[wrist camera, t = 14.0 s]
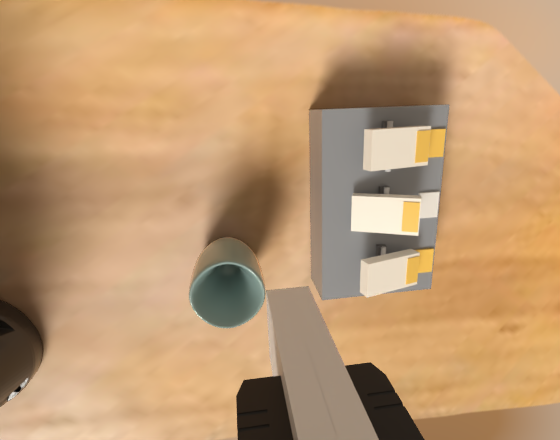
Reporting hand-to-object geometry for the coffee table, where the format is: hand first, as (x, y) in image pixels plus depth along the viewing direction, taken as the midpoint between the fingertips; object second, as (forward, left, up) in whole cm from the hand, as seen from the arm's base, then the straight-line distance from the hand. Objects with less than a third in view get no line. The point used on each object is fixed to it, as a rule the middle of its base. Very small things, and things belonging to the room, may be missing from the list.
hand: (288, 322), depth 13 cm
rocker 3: (+15, -11, -25) cm, 31 cm away
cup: (-3, -11, -33) cm, 35 cm away
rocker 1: (+15, +3, -25) cm, 30 cm away
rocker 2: (+15, -4, -25) cm, 30 cm away
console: (+15, -4, -32) cm, 36 cm away
